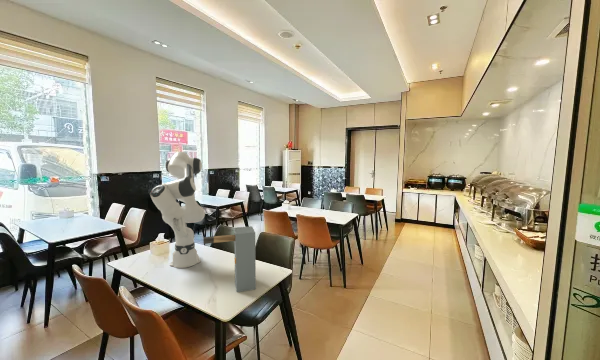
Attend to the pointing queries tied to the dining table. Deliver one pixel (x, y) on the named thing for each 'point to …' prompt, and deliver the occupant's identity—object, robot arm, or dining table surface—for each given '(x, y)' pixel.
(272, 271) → the dining table surface
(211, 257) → the dining table surface
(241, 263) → the cabinet
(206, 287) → the dining table surface
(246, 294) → the dining table surface
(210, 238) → the lever
